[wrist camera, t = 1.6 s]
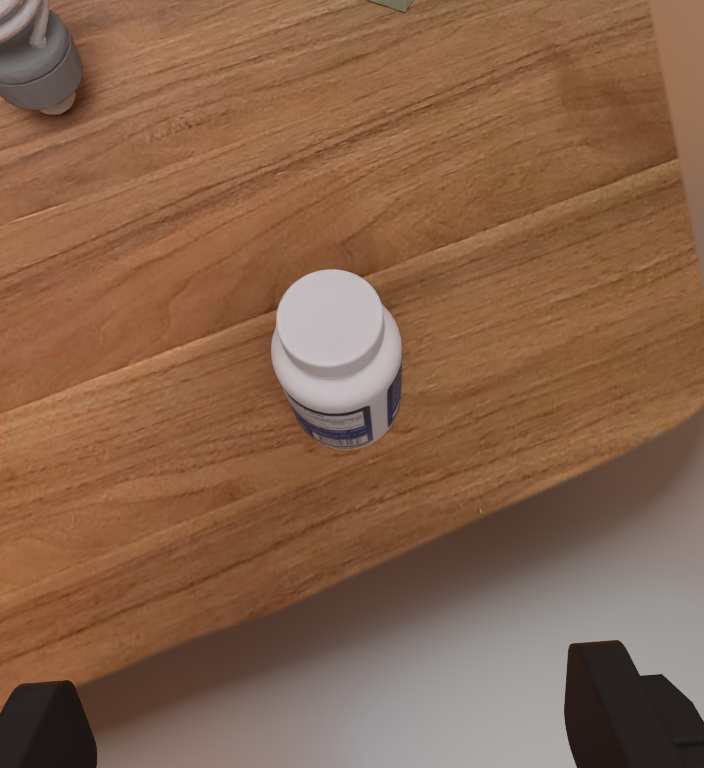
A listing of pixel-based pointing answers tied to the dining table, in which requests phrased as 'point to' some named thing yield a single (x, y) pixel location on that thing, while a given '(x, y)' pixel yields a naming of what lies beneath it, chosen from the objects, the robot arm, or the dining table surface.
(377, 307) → the pill bottle
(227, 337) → the dining table surface
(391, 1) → the shelf
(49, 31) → the light bulb
